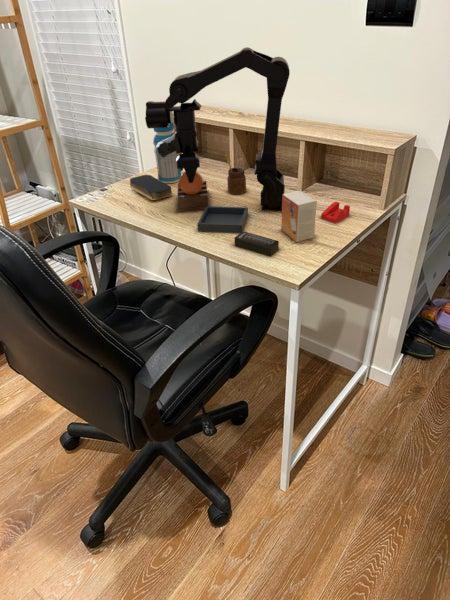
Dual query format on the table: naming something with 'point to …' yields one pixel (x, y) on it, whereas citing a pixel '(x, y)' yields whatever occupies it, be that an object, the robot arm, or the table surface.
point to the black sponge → (150, 187)
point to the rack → (193, 200)
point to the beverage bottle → (168, 163)
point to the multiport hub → (256, 243)
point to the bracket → (335, 213)
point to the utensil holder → (236, 178)
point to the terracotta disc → (191, 184)
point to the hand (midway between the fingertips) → (190, 181)
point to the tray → (223, 219)
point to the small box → (298, 215)
